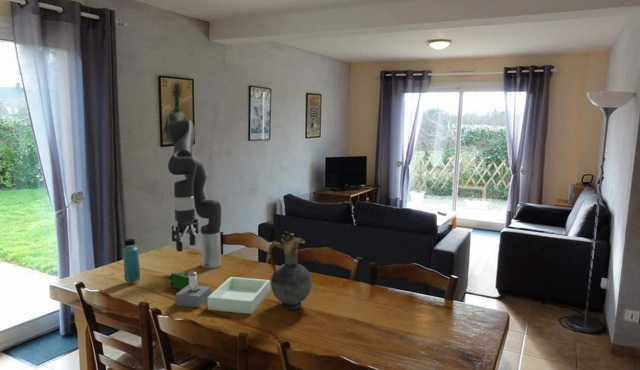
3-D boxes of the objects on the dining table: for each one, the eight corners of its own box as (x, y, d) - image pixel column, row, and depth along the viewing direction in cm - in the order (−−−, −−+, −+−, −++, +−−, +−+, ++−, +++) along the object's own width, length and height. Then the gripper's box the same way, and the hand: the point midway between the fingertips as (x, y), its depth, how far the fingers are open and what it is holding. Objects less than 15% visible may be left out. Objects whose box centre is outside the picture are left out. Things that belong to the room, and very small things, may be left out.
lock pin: (192, 299, 176) (191, 270, 174) (199, 299, 175) (198, 271, 173) (188, 302, 173) (187, 273, 171) (195, 303, 172) (194, 274, 170)
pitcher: (299, 315, 162) (299, 238, 157) (260, 303, 172) (259, 230, 167) (315, 305, 171) (316, 231, 166) (277, 294, 181) (277, 224, 176)
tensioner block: (188, 295, 180) (188, 284, 179) (211, 297, 178) (210, 286, 177) (176, 305, 170) (175, 294, 169) (199, 307, 168) (199, 296, 167)
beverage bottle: (136, 285, 189) (134, 241, 186) (121, 285, 190) (119, 241, 186) (143, 280, 196) (140, 237, 193) (128, 280, 196) (126, 237, 193)
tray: (230, 287, 188) (230, 276, 187) (270, 291, 184) (270, 280, 183) (207, 309, 166) (207, 297, 166) (252, 313, 163) (251, 301, 162)
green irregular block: (193, 297, 189) (202, 279, 187) (183, 298, 183) (192, 280, 182) (177, 281, 194) (185, 264, 193) (166, 282, 189) (175, 264, 188)
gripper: (187, 203, 175) (188, 242, 178) (164, 210, 162) (166, 252, 164) (203, 205, 173) (204, 244, 176) (181, 211, 160) (183, 254, 162)
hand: (186, 248), depth 170 cm, fingers open, 8 cm apart
